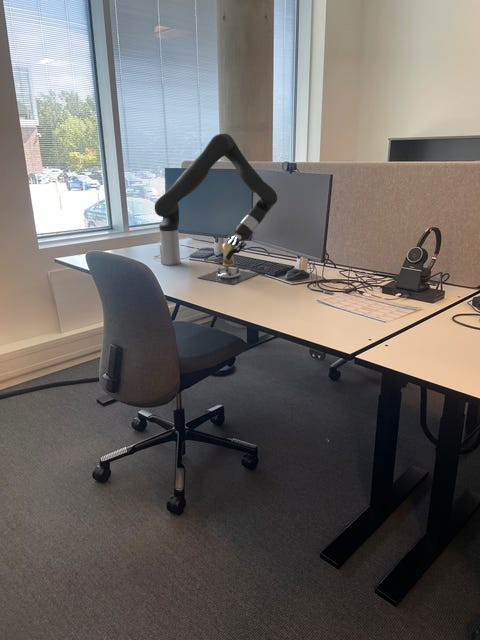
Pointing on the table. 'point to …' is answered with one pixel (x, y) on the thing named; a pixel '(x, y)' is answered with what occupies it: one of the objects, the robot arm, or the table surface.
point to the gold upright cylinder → (226, 249)
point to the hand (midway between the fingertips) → (224, 257)
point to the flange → (228, 276)
